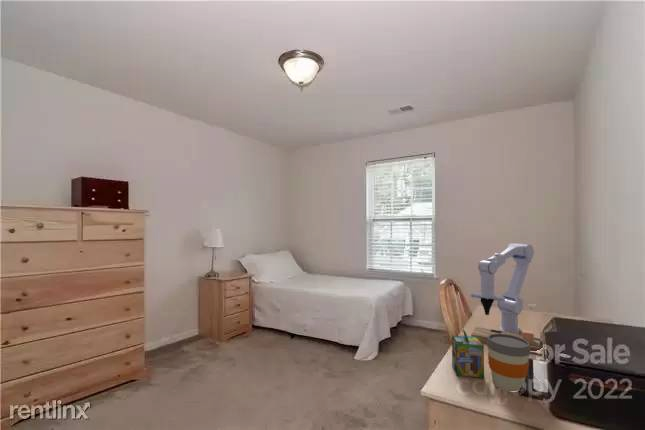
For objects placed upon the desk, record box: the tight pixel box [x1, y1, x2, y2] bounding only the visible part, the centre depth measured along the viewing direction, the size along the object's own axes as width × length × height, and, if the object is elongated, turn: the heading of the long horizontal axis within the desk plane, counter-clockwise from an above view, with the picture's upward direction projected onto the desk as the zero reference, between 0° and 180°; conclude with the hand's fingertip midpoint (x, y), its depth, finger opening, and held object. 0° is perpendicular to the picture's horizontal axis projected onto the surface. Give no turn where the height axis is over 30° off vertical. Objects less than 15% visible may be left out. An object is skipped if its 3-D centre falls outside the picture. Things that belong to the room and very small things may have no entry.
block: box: [521, 329, 535, 343], centre depth 139 cm, size 4×4×4 cm
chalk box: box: [451, 328, 485, 379], centre depth 116 cm, size 9×9×15 cm
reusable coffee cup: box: [486, 334, 531, 392], centre depth 106 cm, size 13×13×15 cm
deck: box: [470, 326, 544, 351], centre depth 143 cm, size 13×27×6 cm, turn 54°
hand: (487, 314), depth 151 cm, fingers closed
